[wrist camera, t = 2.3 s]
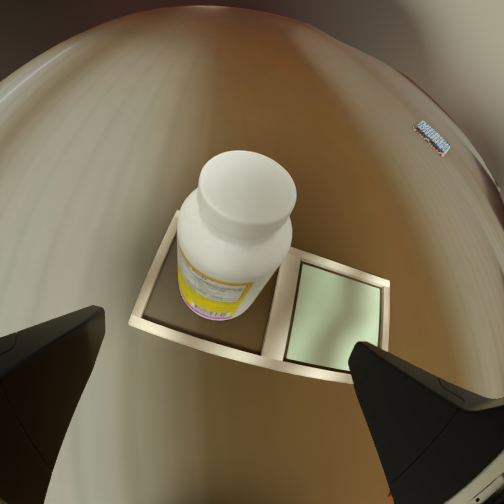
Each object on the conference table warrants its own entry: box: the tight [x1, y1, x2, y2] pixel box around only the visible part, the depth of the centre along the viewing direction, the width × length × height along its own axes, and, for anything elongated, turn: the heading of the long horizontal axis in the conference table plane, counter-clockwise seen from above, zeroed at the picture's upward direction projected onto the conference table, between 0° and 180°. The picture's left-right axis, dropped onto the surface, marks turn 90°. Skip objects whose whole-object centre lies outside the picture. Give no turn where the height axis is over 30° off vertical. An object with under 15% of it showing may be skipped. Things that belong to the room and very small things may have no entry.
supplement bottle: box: [177, 151, 297, 320], centre depth 18 cm, size 7×7×13 cm
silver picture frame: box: [128, 210, 390, 384], centre depth 24 cm, size 23×12×1 cm, turn 77°
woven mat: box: [413, 121, 450, 157], centre depth 53 cm, size 10×11×2 cm
